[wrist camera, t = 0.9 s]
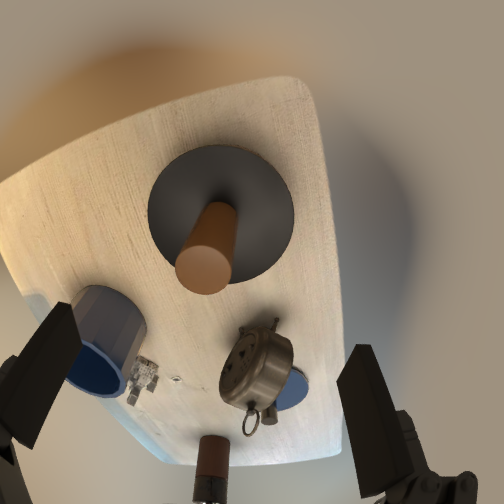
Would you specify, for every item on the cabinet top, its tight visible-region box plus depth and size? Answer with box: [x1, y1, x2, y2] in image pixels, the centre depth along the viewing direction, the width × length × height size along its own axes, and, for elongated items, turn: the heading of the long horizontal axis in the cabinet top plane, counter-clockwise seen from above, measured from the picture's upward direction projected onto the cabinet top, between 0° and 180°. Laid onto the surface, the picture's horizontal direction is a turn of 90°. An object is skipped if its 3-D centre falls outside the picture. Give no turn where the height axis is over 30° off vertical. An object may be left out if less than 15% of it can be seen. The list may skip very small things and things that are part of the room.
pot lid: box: [261, 369, 309, 425], centre depth 42 cm, size 14×14×7 cm
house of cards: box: [127, 356, 182, 406], centre depth 42 cm, size 9×9×8 cm
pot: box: [65, 285, 146, 398], centre depth 35 cm, size 13×13×10 cm
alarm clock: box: [219, 318, 294, 437], centre depth 33 cm, size 11×5×16 cm, turn 146°
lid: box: [148, 145, 294, 295], centre depth 22 cm, size 14×14×10 cm
